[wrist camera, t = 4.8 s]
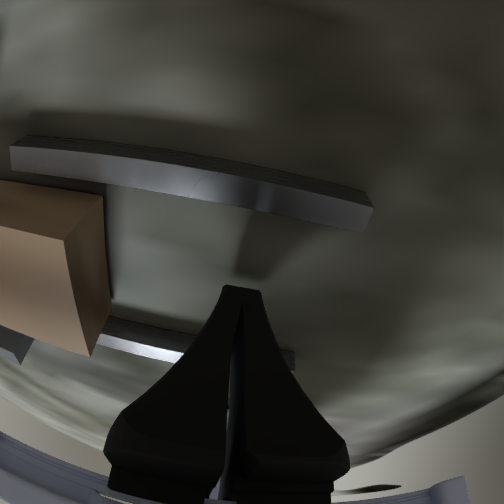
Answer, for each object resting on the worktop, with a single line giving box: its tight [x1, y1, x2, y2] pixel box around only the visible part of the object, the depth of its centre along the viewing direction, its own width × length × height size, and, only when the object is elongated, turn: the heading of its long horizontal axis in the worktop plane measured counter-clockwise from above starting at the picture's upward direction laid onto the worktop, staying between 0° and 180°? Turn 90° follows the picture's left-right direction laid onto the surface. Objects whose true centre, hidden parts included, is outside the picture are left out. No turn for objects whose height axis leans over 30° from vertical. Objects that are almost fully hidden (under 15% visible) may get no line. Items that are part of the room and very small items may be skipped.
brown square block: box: [0, 180, 112, 357], centre depth 11 cm, size 6×6×3 cm
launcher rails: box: [9, 136, 374, 374], centre depth 13 cm, size 10×13×1 cm
